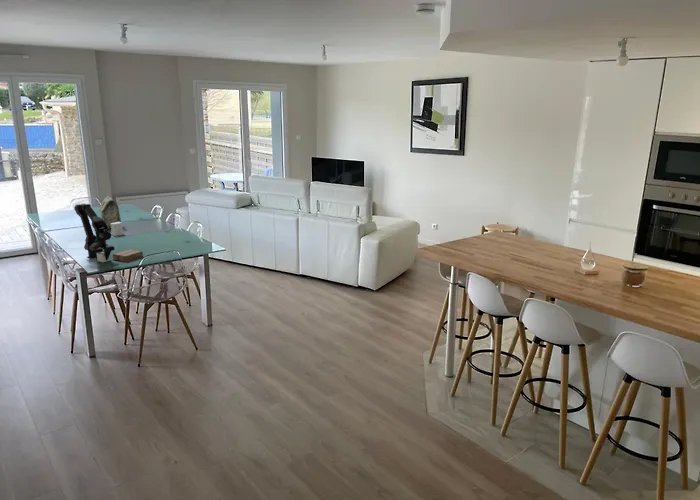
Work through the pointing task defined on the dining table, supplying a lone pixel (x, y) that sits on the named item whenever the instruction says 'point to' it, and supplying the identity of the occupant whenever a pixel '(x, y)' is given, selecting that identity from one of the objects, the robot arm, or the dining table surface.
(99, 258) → the sage cube
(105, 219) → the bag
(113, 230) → the small box
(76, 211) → the robot arm
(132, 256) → the walnut block
